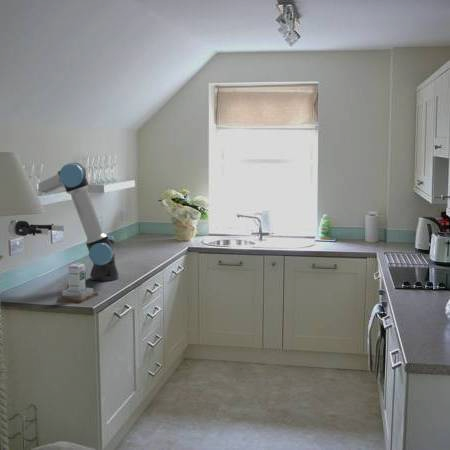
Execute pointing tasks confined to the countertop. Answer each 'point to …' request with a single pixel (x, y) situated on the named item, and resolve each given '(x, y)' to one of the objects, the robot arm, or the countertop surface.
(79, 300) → the carrier plate
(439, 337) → the countertop surface
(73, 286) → the syrup box
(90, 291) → the socket collar
